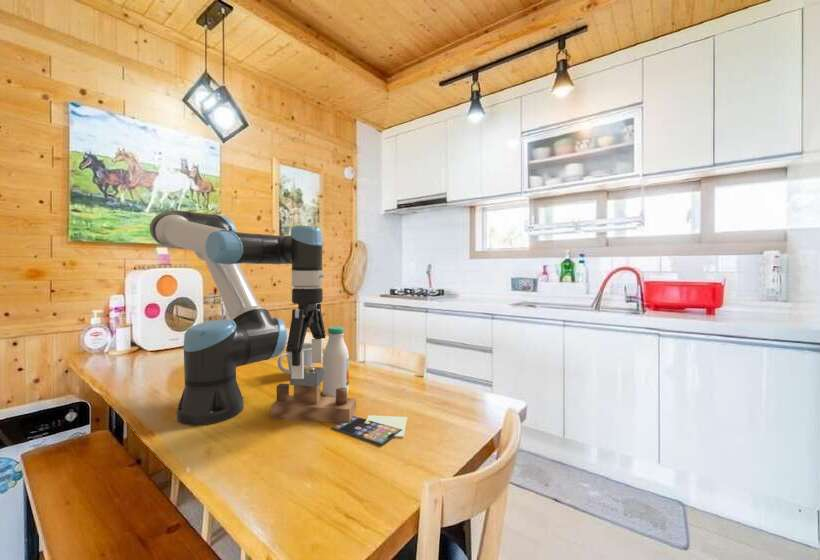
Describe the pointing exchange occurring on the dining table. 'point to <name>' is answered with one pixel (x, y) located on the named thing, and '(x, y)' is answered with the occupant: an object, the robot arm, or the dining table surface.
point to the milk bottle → (335, 363)
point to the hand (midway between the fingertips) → (308, 370)
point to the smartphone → (367, 430)
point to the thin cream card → (391, 422)
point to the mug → (307, 357)
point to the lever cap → (309, 377)
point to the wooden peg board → (312, 405)
